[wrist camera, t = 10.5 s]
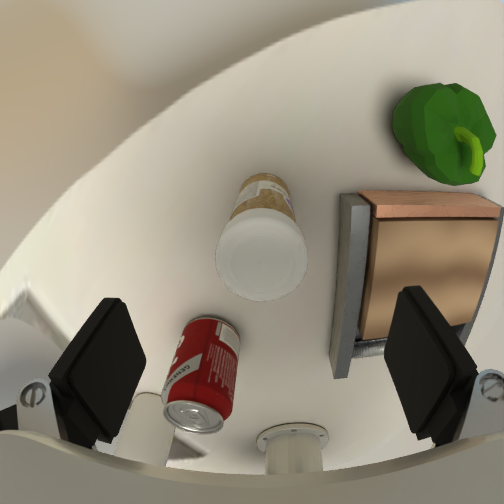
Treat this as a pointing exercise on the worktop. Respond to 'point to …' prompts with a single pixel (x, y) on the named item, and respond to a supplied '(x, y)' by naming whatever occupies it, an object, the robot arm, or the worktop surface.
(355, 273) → the roller track
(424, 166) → the bell pepper
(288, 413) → the worktop surface
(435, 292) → the slab
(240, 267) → the sprinkles bottle
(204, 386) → the soda can
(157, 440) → the milk bottle
